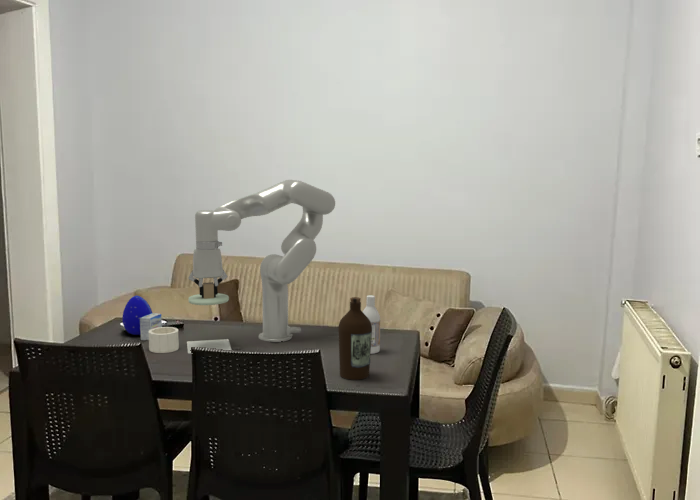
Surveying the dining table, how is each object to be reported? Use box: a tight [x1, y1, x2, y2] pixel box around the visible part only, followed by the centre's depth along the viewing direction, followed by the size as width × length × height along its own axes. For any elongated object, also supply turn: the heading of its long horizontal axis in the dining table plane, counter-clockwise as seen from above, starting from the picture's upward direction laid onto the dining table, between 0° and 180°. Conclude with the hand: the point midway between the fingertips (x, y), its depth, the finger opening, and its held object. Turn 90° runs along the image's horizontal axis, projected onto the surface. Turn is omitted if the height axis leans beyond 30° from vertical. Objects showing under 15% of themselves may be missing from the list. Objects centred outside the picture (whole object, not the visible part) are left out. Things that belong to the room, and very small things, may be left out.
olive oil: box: [337, 296, 372, 381], centre depth 220 cm, size 11×11×25 cm
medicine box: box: [140, 312, 163, 341], centre depth 261 cm, size 8×4×9 cm, turn 164°
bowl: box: [148, 326, 180, 354], centre depth 246 cm, size 10×10×7 cm
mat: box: [186, 338, 233, 354], centre depth 251 cm, size 15×15×1 cm
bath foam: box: [362, 294, 381, 355], centre depth 247 cm, size 7×7×20 cm
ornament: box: [121, 295, 153, 336], centre depth 266 cm, size 11×9×15 cm
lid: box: [187, 281, 230, 306], centre depth 248 cm, size 14×14×6 cm
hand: (208, 296), depth 248 cm, fingers closed on lid, 3 cm apart
